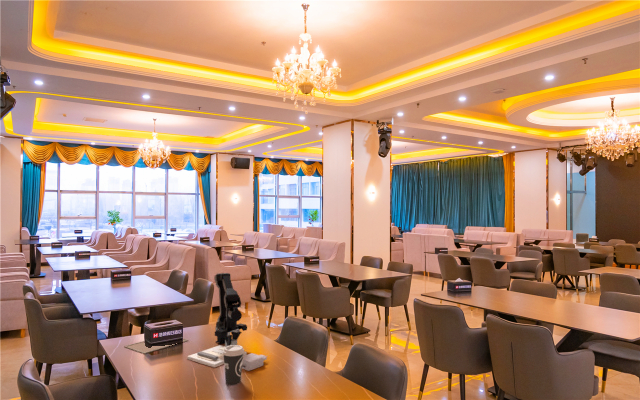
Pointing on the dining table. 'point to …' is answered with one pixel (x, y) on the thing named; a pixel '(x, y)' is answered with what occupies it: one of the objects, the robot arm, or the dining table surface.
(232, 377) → the coffee cup
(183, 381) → the dining table surface
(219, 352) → the board
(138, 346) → the picture frame
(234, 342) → the cream plate grey block
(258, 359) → the charger
